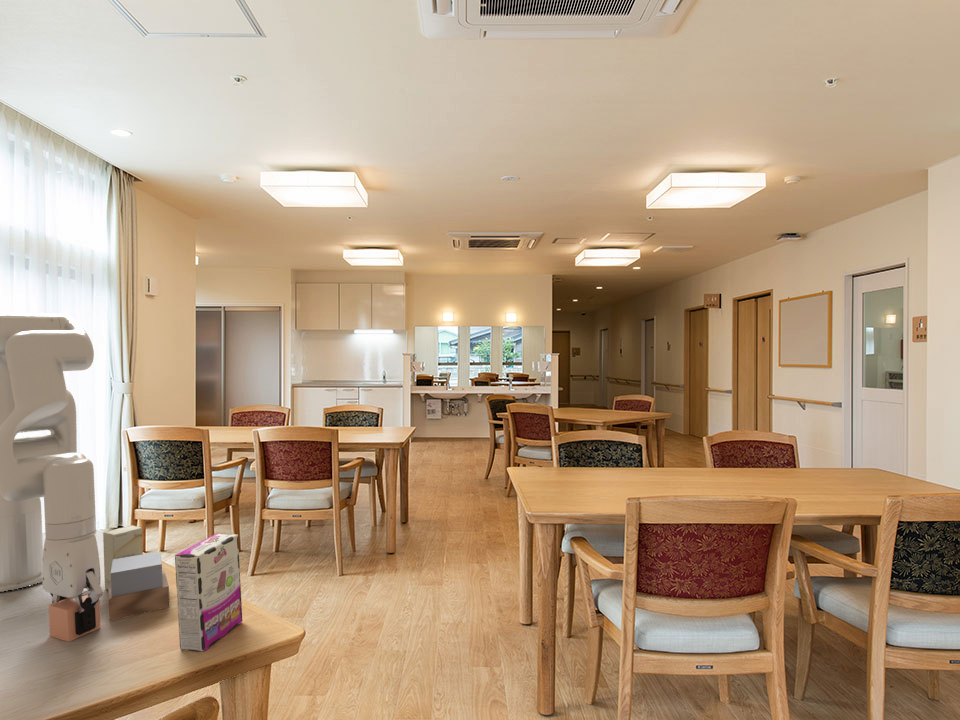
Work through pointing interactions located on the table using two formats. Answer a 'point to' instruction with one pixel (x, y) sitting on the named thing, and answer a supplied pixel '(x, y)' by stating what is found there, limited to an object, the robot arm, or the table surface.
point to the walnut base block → (138, 601)
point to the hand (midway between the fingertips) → (75, 627)
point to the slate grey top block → (136, 573)
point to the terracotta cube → (67, 619)
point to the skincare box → (120, 546)
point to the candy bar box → (208, 591)
